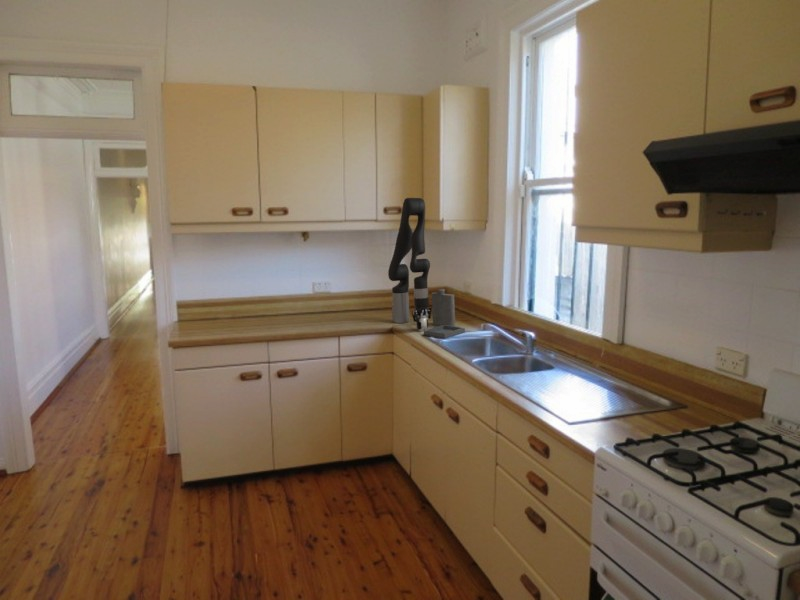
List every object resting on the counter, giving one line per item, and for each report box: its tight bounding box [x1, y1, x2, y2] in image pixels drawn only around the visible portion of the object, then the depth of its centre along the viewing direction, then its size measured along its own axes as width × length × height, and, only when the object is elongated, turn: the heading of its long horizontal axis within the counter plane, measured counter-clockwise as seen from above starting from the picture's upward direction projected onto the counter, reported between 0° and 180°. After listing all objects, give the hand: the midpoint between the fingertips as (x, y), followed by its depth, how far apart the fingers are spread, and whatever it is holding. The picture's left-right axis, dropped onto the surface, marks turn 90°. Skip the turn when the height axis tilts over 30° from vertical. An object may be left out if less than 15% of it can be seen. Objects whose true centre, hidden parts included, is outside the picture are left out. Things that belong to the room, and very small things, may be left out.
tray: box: [423, 325, 466, 339], centre depth 293 cm, size 14×16×2 cm
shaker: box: [417, 315, 428, 333], centre depth 303 cm, size 5×5×8 cm
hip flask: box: [431, 288, 456, 327], centre depth 312 cm, size 16×4×20 cm, turn 41°
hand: (422, 328), depth 303 cm, fingers closed on shaker, 4 cm apart
